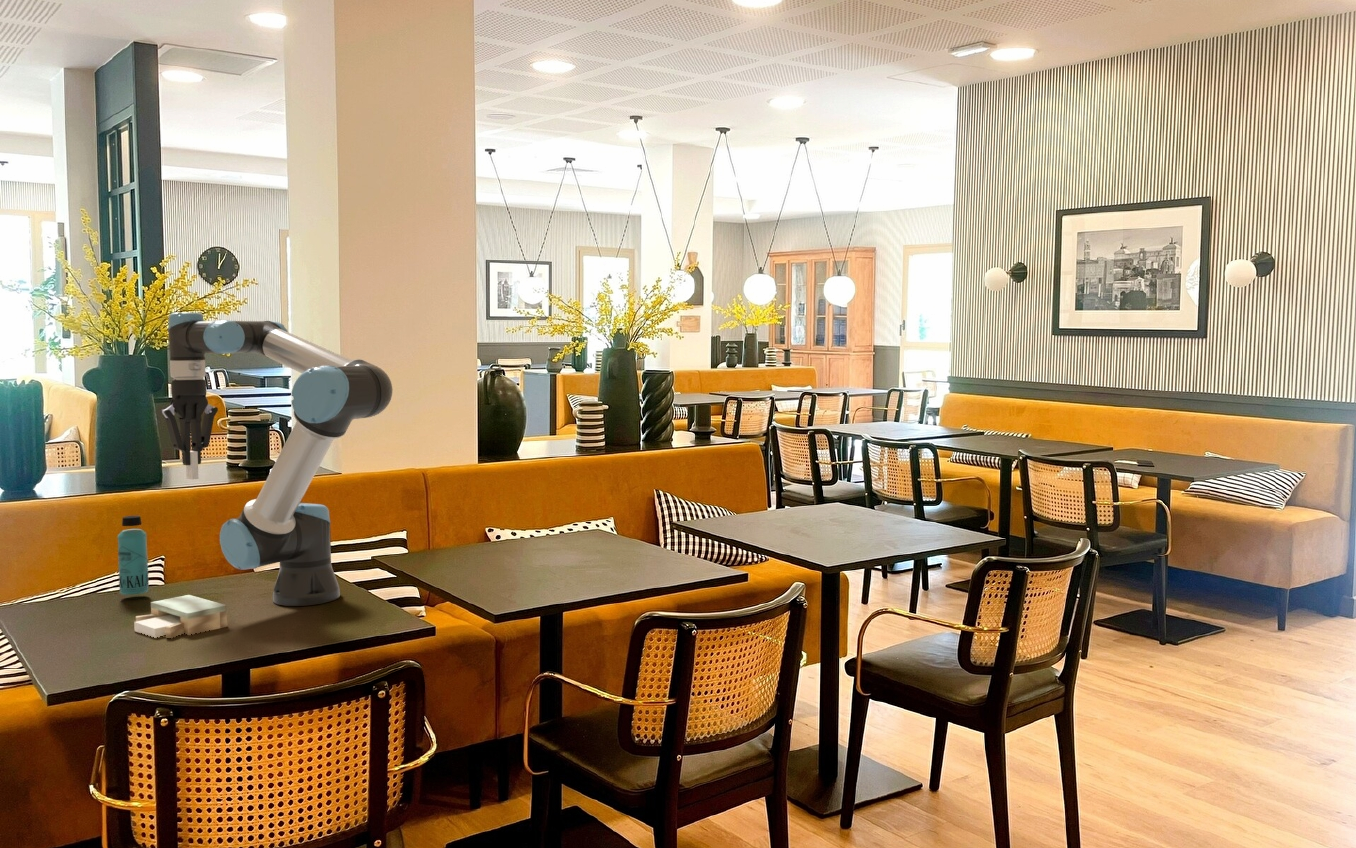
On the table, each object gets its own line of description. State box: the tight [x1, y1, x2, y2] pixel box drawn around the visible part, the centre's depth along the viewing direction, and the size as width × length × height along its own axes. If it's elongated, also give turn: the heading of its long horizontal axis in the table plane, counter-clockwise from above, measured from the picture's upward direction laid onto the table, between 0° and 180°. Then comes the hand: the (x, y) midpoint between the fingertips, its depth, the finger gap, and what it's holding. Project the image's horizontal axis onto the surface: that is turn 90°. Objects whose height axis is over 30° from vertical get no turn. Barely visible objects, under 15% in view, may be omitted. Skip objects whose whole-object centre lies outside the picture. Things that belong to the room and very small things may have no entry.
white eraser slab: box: [133, 614, 181, 639], centre depth 229 cm, size 12×9×2 cm
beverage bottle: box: [117, 515, 150, 596], centre depth 256 cm, size 6×7×20 cm
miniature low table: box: [135, 594, 228, 639], centre depth 230 cm, size 13×16×5 cm
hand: (192, 478), depth 251 cm, fingers closed
